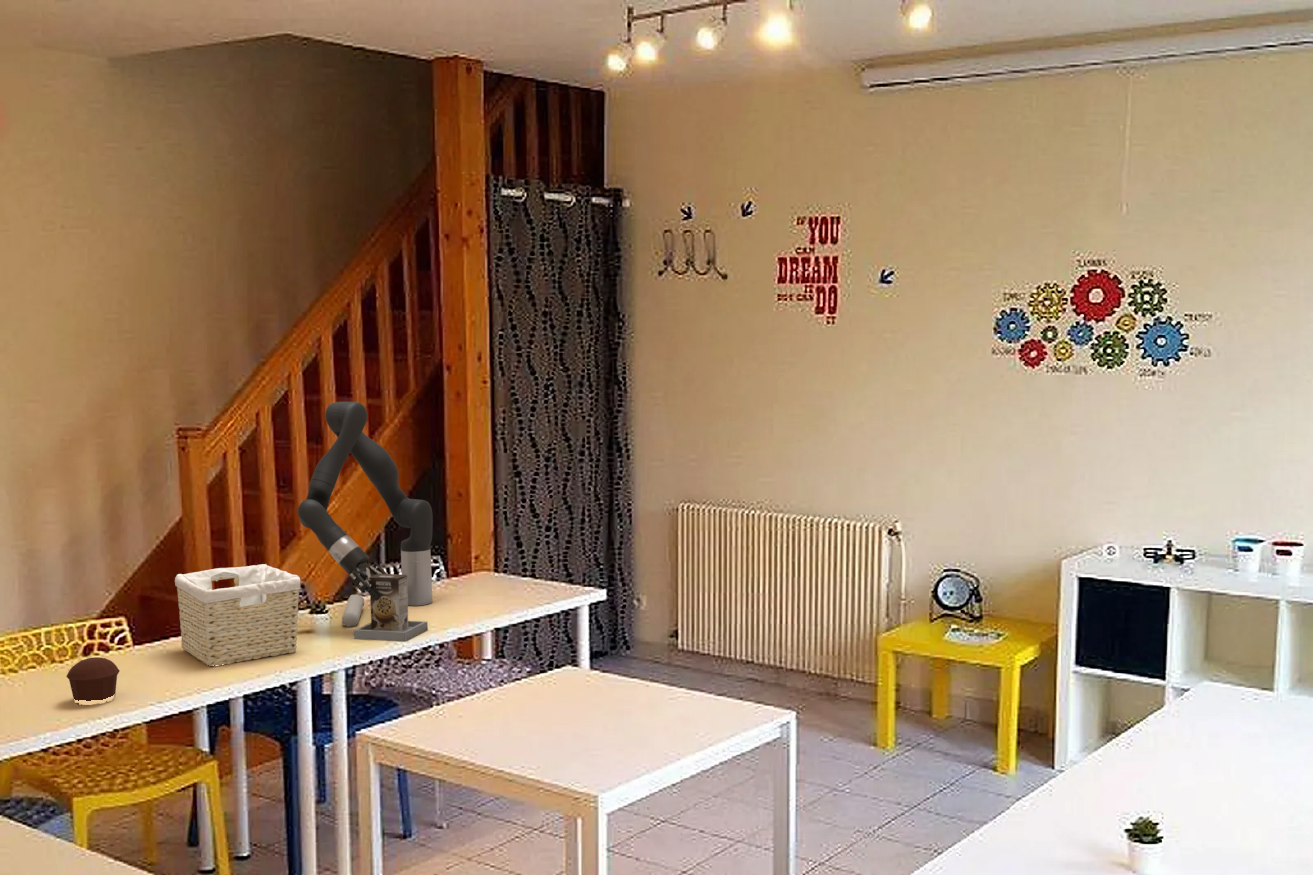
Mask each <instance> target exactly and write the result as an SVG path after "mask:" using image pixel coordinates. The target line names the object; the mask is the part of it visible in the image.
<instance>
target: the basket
mask: <svg viewBox="0 0 1313 875" xmlns="http://www.w3.org/2000/svg"><path fill="white" fill-rule="evenodd" d="M229 579H233V584H234V586H232V587H231V586H230V587H224V588H216V589H213V583H212V582H216V583H217V582H219V580H220V581H221V580H229ZM174 584H175V587H176V591H177V598H178V600H177V601H178V609H179V611H178V612H179V618H178V619H179V621H180V636H181V646H180V647H181V648H182V649H183V650H184V651H186V652H187V653H189V654H190V655H192V656H193V657H194V658H196V659H197V660H199V661H200V662H201V663H203V664H204V663H205V664H204V665H206V664H207V665H206V666H208V665H209V666H208V667H210V666H213V665H222V664H226V665H231V664H234V663H236V662H237V663H241V662H243V661H250V660H252V659H253V660H255V659H256V660H260V659H261V658H267V657H269V656H270V657H277V656H280V655H283V656H284V655H286V654H295V653H296V650H297V648H298V647H297V639H298V637H297V634H298V613H299V599H300V598H299V597H300V596H299V595H300V590H301V578H300V576H299V575H297V574H292V573H290V572H288V571H285V570H281V569H279V568H276V567H273V566H269V565H267V563H265V564H263V563H262V564H257V565H256V564H255V565H254V564H253V565H249V566H248V565H247V566H246V565H245V566H238V567H219V568H218V567H217V568H213V569H206V570H200V571H195V572H194V571H193V572H189V573H184V574H182V573H178V574H176V576H175V577H174ZM237 663H236V664H237Z"/></svg>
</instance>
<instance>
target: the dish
mask: <svg viewBox="0 0 1313 875" xmlns="http://www.w3.org/2000/svg"><path fill="white" fill-rule="evenodd" d="M408 627H409V629H408V630H406V631H404V632H400V631H379V630H371V622H369V623H366V624H364V625H362V626H359V627H358V628H355V629H354V630H353V639H354V640H368V641H369V640H370V641H371V640H372V641H373V640H374V641H386V642H387V641H388V642H389V641H391V642H407V641H409V640H411V639H414V638H415V637H417V636H419V635H421V634H423V633H425V632H427V631H429V629H428V628H429V625H428V621H424V620H423V621H422V620H408Z"/></svg>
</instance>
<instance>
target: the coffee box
mask: <svg viewBox="0 0 1313 875" xmlns="http://www.w3.org/2000/svg"><path fill="white" fill-rule="evenodd" d="M370 579H371V582H372V585H373V586H374V587H375V588H376V589H377V591H378V592H379V593H380V594H381V595H382V596H381V598H380V599H379V600H377V601H376V600H375V599H374V598H373V597H372V596H371V595H370V594H369V595H370V596H369V598H370V623H371V630H379V631H400V632H404V631H406V630H408V629H409V627H408V621H409V605H408V591H407V575H402V574H397V573H396V574H395V573H387V574H377V575H374V576H371V577H370ZM373 586H372V587H373Z"/></svg>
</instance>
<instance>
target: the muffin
mask: <svg viewBox="0 0 1313 875" xmlns="http://www.w3.org/2000/svg"><path fill="white" fill-rule="evenodd" d="M120 671H121V670H120V669H119V668H118V666H117V665H116V664H115V662H113V661H112V660H110V659H109V658H108V659H107V658H105V657H95V656H94V657H88V658H85V659H81V660H80V661H78V662H77V663H75V664H74V665H73V666H72V667H71V668H70V669H69V670H68V673H67V674H66V675H65V677H66V678H67V679H68V681H69V685H70V690H71V693H72V699H73V700H74V699H75V700H78V701H79V700H86V701H91V700H103V699H106V698H108V697H111V696H113V695H114V694H115V695H116V692H117V691H116V690H117V682H118V681H117V679H118V675H119V673H120Z"/></svg>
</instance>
